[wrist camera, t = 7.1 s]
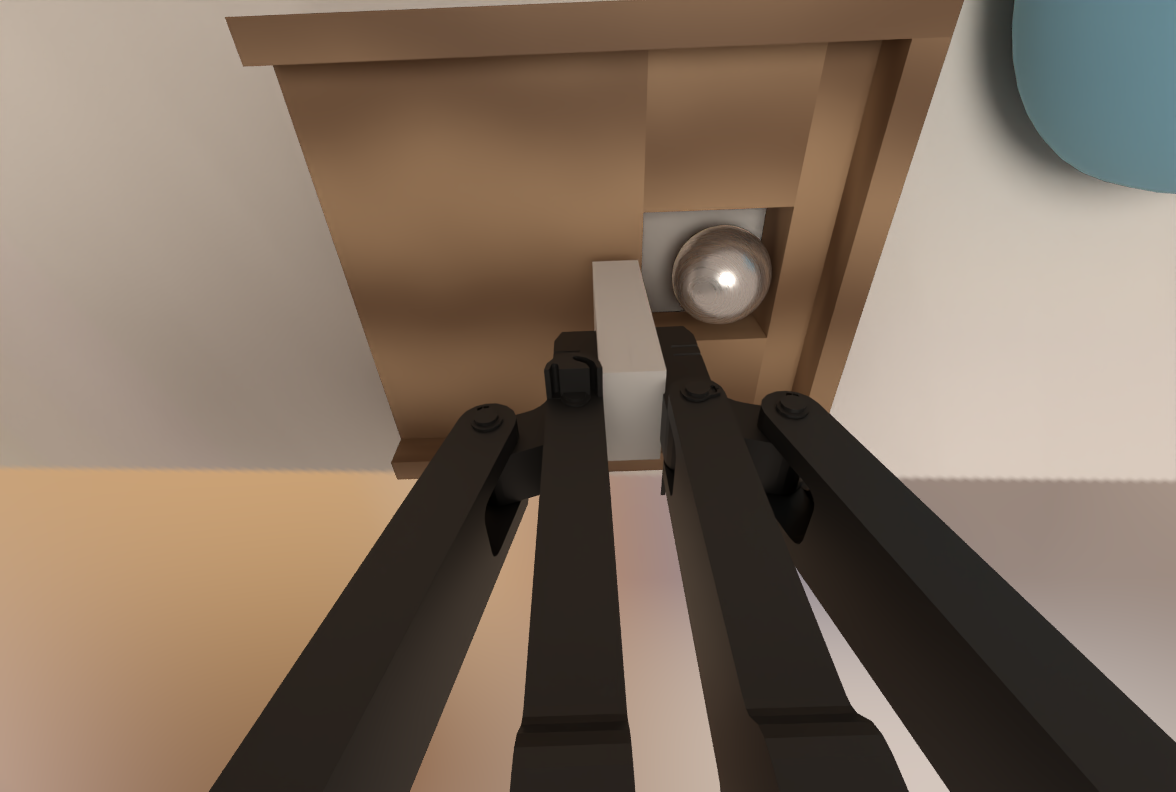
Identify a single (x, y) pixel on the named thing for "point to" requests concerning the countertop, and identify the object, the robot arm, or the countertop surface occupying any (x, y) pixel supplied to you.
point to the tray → (598, 175)
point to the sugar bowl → (1102, 85)
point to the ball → (721, 274)
